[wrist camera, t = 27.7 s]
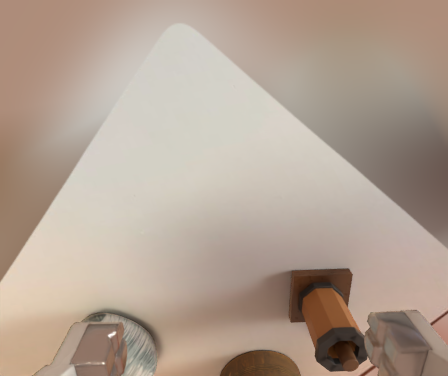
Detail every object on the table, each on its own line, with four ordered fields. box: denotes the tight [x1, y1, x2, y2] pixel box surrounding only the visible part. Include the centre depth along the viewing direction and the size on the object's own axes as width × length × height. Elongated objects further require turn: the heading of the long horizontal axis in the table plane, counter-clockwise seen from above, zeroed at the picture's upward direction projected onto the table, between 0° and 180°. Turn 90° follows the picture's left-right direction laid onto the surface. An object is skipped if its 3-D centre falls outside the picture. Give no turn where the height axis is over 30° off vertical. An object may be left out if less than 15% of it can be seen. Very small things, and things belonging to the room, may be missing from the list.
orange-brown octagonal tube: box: [298, 282, 367, 372], centre depth 47 cm, size 7×7×10 cm
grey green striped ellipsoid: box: [82, 313, 157, 376], centre depth 51 cm, size 14×10×10 cm
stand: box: [289, 269, 359, 371], centre depth 47 cm, size 9×9×14 cm
